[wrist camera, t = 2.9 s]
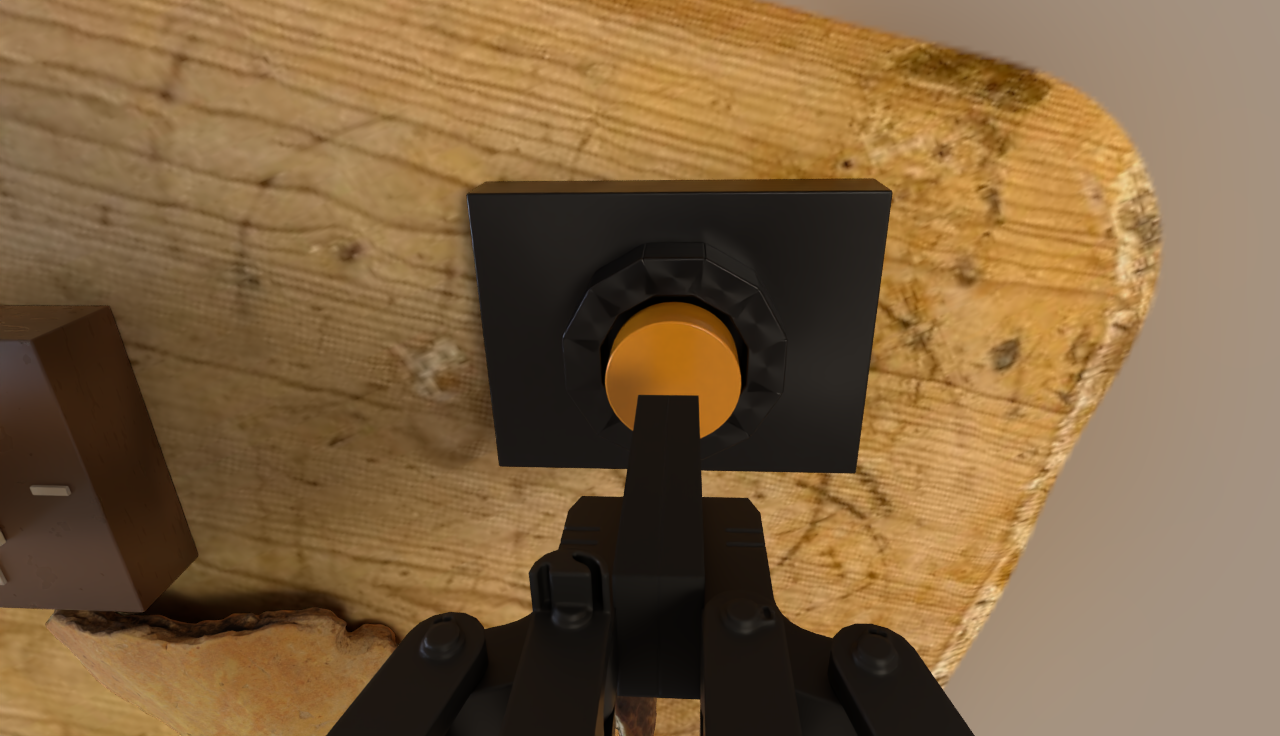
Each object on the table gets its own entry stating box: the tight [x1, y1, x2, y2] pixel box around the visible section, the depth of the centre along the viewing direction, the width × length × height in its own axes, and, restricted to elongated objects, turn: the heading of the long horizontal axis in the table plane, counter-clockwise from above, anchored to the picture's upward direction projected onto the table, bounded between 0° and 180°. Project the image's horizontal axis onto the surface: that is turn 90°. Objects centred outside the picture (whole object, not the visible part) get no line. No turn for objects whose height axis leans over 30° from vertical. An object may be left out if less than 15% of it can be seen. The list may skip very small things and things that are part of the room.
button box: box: [466, 179, 892, 473], centre depth 23 cm, size 10×13×4 cm
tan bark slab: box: [45, 607, 398, 736], centre depth 32 cm, size 17×4×10 cm
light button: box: [605, 302, 741, 438], centre depth 21 cm, size 4×4×2 cm
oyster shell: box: [615, 689, 657, 736], centre depth 31 cm, size 6×4×10 cm
